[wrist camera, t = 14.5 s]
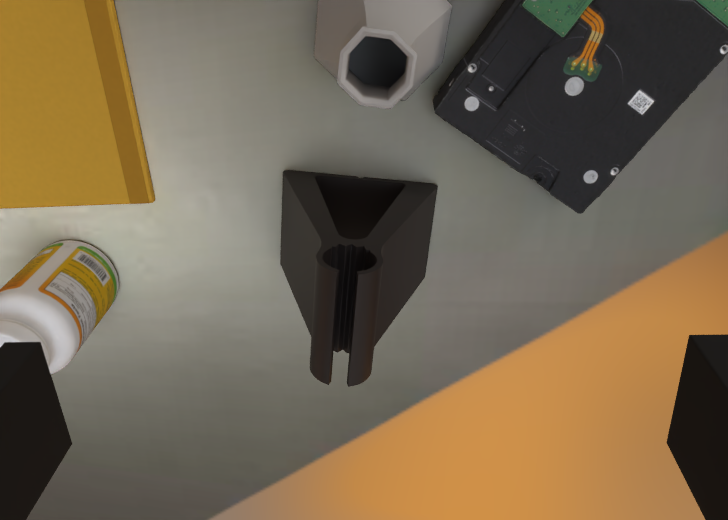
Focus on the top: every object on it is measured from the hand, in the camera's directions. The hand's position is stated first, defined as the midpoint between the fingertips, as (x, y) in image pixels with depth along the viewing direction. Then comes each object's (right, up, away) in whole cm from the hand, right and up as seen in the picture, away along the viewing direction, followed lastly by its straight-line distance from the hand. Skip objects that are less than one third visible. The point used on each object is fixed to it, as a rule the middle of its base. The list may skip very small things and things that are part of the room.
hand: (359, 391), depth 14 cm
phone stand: (0, +5, +27) cm, 28 cm away
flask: (+1, +15, +22) cm, 27 cm away
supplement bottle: (-18, +2, +30) cm, 35 cm away
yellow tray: (-20, +13, +24) cm, 34 cm away
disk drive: (+12, +14, +22) cm, 29 cm away
